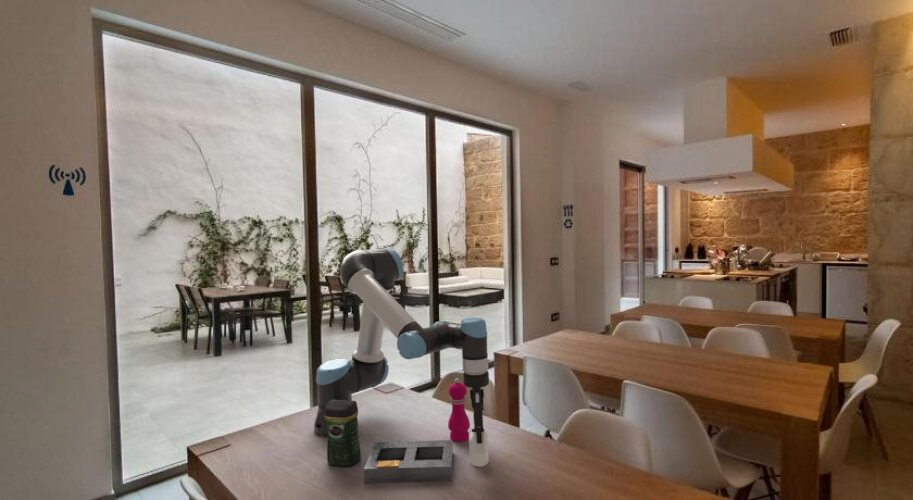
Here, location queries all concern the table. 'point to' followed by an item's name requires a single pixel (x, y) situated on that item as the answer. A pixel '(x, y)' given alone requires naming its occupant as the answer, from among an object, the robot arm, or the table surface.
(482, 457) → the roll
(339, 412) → the coffee jar
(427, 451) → the hole plate
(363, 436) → the table surface
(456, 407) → the pepper mill
